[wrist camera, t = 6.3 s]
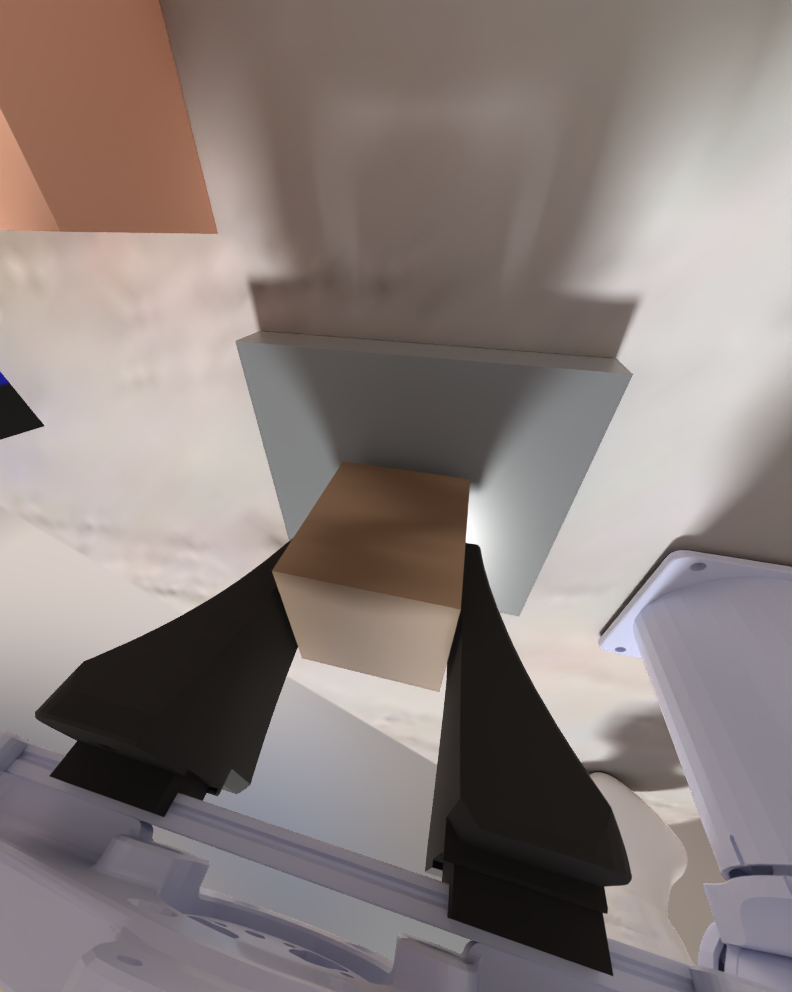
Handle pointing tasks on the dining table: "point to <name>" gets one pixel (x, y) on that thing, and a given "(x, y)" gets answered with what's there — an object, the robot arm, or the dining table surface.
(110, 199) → the terracotta block
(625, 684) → the dining table surface
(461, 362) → the base plate
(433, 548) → the walnut block
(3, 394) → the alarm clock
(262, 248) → the dining table surface
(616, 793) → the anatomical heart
